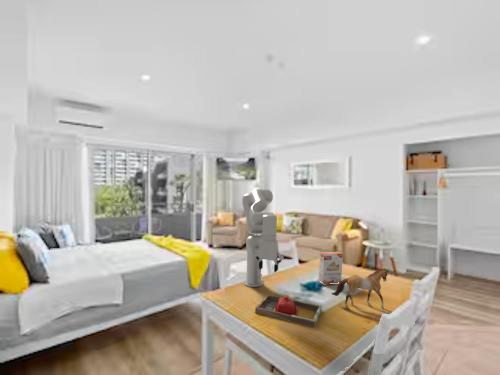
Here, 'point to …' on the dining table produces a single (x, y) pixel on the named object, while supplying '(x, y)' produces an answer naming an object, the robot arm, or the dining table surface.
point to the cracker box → (330, 267)
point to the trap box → (274, 300)
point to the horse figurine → (363, 285)
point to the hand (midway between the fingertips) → (268, 270)
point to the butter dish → (286, 306)
